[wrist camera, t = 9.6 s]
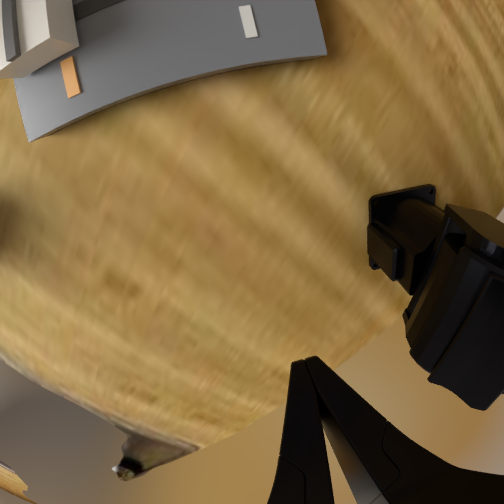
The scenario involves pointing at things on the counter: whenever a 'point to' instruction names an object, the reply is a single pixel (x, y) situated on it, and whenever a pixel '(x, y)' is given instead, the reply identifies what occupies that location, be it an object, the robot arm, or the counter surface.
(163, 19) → the fader console
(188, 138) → the counter surface
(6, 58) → the fader tab
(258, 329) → the counter surface
